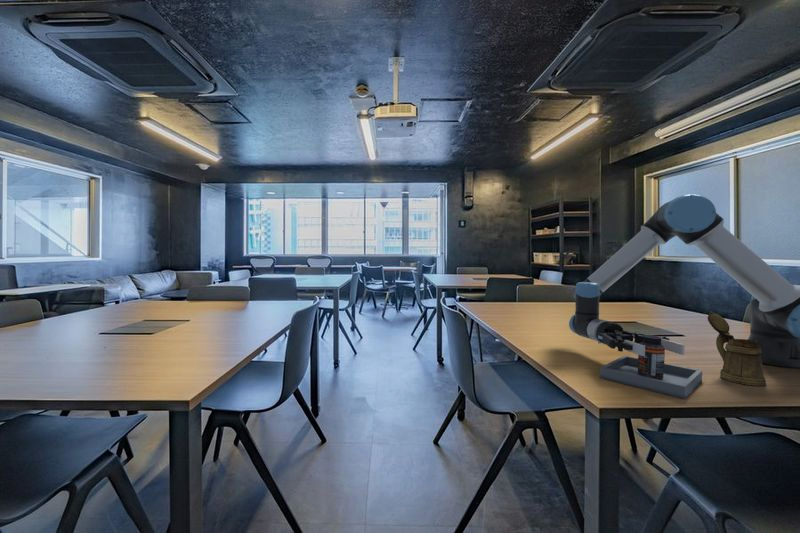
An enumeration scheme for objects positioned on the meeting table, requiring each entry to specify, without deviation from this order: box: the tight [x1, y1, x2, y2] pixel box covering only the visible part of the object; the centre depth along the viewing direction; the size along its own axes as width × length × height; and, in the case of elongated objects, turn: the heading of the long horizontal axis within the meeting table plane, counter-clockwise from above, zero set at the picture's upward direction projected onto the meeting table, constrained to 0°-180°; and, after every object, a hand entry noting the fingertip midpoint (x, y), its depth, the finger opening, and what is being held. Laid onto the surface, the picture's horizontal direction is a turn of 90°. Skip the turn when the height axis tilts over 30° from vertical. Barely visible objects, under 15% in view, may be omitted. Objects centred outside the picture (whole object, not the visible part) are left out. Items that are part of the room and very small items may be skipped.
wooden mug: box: [707, 310, 767, 387], centre depth 100 cm, size 9×14×18 cm, turn 11°
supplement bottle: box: [637, 334, 666, 380], centre depth 98 cm, size 6×6×11 cm
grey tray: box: [599, 355, 703, 400], centre depth 98 cm, size 19×19×3 cm
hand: (663, 350), depth 94 cm, fingers open, 11 cm apart
